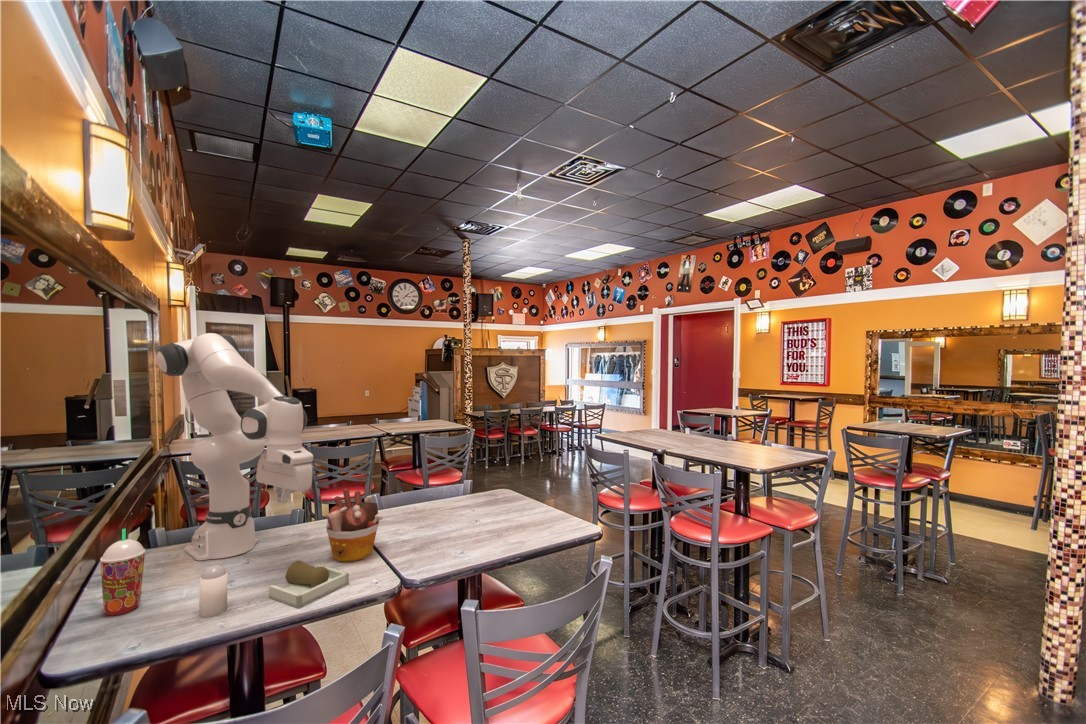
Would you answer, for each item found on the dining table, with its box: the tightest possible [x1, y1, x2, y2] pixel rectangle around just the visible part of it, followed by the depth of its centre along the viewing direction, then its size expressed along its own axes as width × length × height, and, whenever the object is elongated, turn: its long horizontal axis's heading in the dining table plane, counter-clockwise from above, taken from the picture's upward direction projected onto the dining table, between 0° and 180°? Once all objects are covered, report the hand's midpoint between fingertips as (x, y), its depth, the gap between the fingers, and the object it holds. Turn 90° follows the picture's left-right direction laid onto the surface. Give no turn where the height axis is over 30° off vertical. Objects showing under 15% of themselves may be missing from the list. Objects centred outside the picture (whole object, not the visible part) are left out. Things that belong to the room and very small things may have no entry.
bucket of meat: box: [326, 487, 384, 563], centre depth 148 cm, size 20×16×20 cm
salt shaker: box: [198, 564, 229, 619], centre depth 113 cm, size 6×6×11 cm
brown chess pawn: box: [285, 560, 329, 587], centre depth 126 cm, size 6×6×11 cm
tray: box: [268, 564, 350, 609], centre depth 124 cm, size 12×15×3 cm
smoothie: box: [99, 528, 146, 617], centre depth 114 cm, size 8×8×20 cm
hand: (281, 502), depth 130 cm, fingers closed
